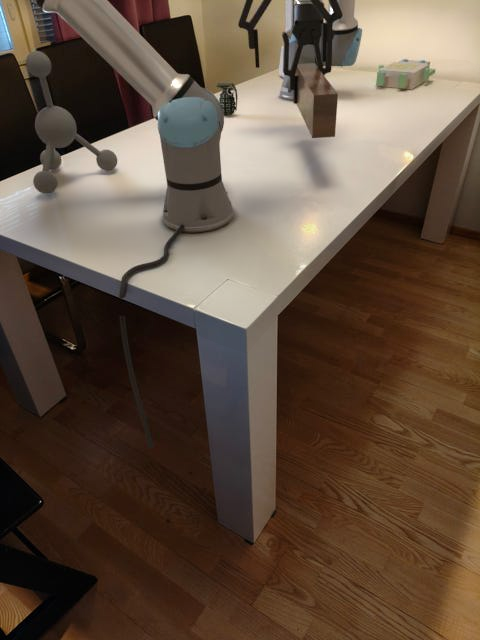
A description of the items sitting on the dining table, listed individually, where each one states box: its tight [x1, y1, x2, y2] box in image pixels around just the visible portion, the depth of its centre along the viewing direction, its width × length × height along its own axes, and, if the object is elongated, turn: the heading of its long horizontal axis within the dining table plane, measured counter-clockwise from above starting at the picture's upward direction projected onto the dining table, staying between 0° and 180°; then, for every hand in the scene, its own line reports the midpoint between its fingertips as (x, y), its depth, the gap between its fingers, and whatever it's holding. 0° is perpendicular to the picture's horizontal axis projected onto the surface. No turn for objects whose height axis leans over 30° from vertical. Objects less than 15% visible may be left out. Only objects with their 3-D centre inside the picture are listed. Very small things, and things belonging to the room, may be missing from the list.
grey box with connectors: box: [375, 58, 437, 90], centre depth 192 cm, size 26×6×20 cm
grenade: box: [215, 82, 238, 117], centre depth 166 cm, size 7×6×10 cm
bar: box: [295, 63, 339, 139], centre depth 122 cm, size 34×5×9 cm, turn 2°
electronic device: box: [278, 0, 295, 79], centre depth 202 cm, size 12×8×30 cm, turn 105°
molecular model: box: [25, 50, 118, 195], centre depth 121 cm, size 24×22×30 cm
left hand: (290, 63), depth 100 cm, fingers open, 13 cm apart
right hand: (305, 101), depth 135 cm, fingers closed on bar, 5 cm apart
